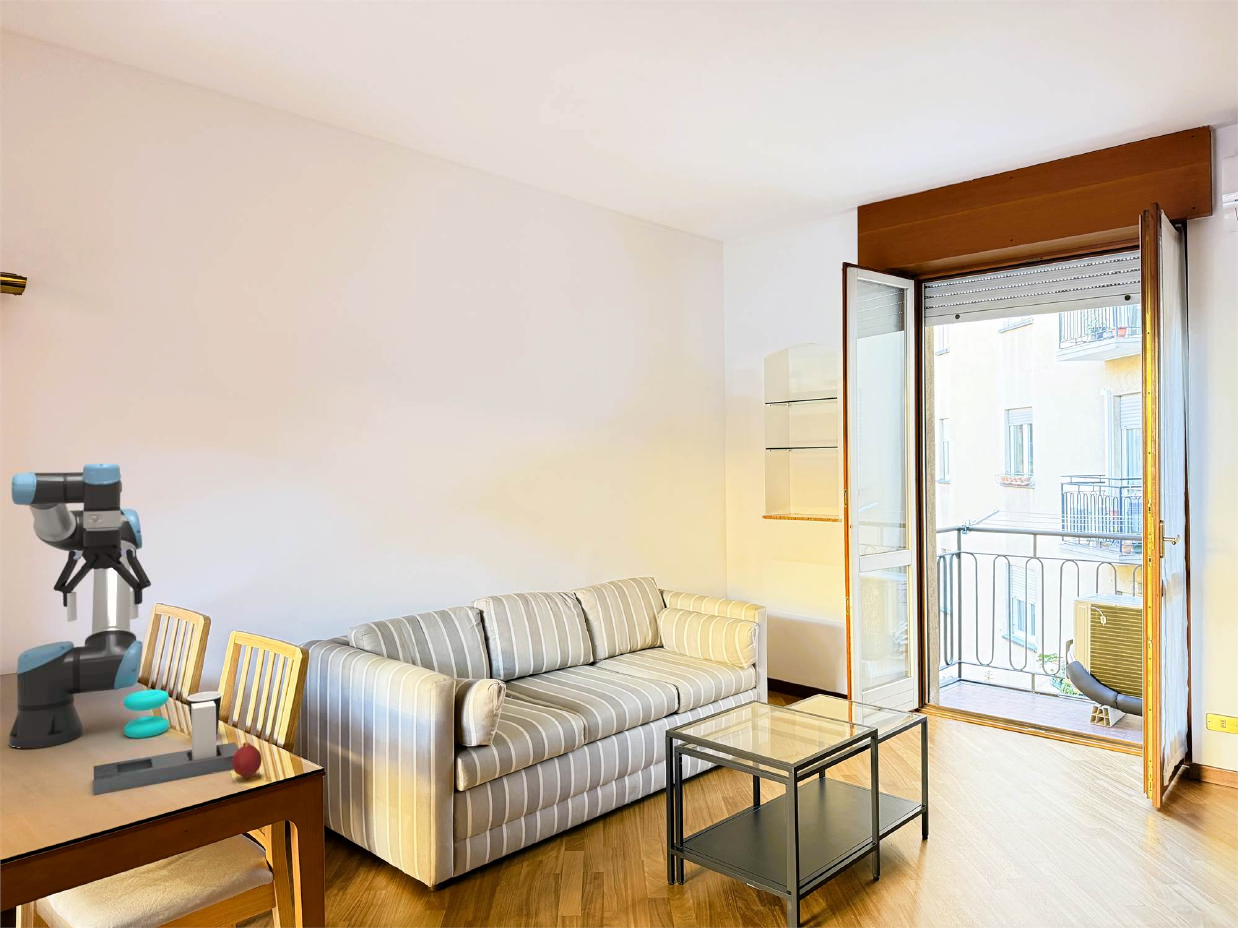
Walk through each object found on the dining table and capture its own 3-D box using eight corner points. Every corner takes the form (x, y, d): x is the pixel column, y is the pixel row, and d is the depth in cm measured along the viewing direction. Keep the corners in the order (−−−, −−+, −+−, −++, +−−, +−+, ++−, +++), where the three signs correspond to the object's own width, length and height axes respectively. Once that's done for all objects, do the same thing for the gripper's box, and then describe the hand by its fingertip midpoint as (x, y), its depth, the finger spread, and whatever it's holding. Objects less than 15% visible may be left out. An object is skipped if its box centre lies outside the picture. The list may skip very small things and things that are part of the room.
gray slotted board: (93, 794, 173) (93, 780, 173) (93, 779, 182) (93, 765, 182) (241, 767, 188) (241, 754, 188) (235, 754, 196) (235, 741, 196)
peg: (194, 772, 185) (193, 708, 186) (192, 766, 189) (191, 703, 189) (216, 768, 188) (215, 705, 188) (214, 762, 192) (213, 700, 192)
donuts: (173, 687, 220) (161, 697, 210) (174, 725, 220) (161, 737, 210) (131, 689, 218) (117, 700, 208) (132, 728, 218) (117, 740, 208)
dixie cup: (179, 743, 206) (179, 698, 206) (207, 733, 213) (206, 690, 213) (203, 747, 202) (202, 701, 202) (230, 737, 210) (229, 692, 210)
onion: (238, 774, 184) (237, 737, 184) (265, 772, 185) (265, 736, 185) (228, 783, 178) (227, 746, 178) (256, 782, 179) (255, 744, 179)
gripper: (35, 531, 193) (36, 624, 193) (152, 528, 196) (153, 620, 196) (53, 529, 200) (54, 618, 200) (165, 526, 204) (166, 614, 203)
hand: (103, 619), depth 198 cm, fingers open, 13 cm apart
